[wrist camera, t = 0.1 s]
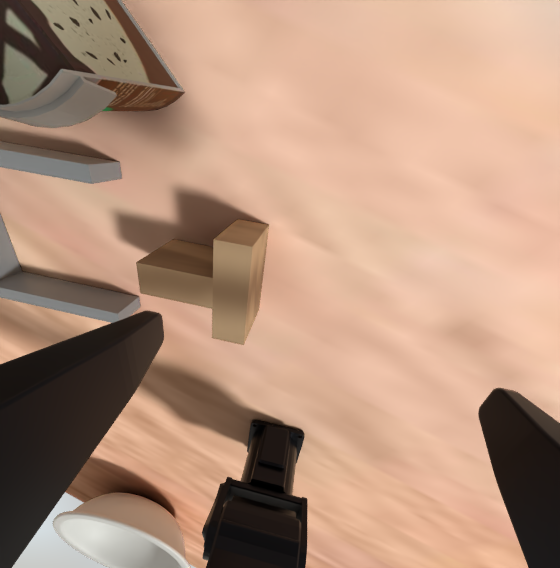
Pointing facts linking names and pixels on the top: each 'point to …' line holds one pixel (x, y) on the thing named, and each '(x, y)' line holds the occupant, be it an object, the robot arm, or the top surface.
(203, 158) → the top surface
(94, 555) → the soup bowl
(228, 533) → the robot arm
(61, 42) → the food container
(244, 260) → the wooden t-shaped block
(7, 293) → the corral
